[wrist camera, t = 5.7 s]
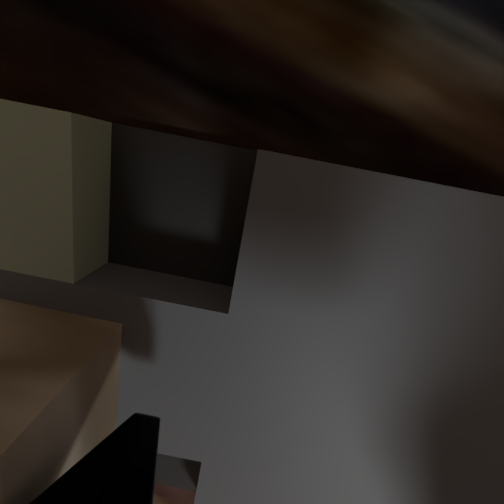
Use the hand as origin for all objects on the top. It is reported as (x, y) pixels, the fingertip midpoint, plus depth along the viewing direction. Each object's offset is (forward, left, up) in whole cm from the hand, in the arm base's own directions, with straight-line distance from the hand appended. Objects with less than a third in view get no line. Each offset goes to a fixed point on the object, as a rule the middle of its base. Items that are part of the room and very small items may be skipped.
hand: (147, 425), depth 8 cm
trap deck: (-2, 0, -4) cm, 4 cm away
